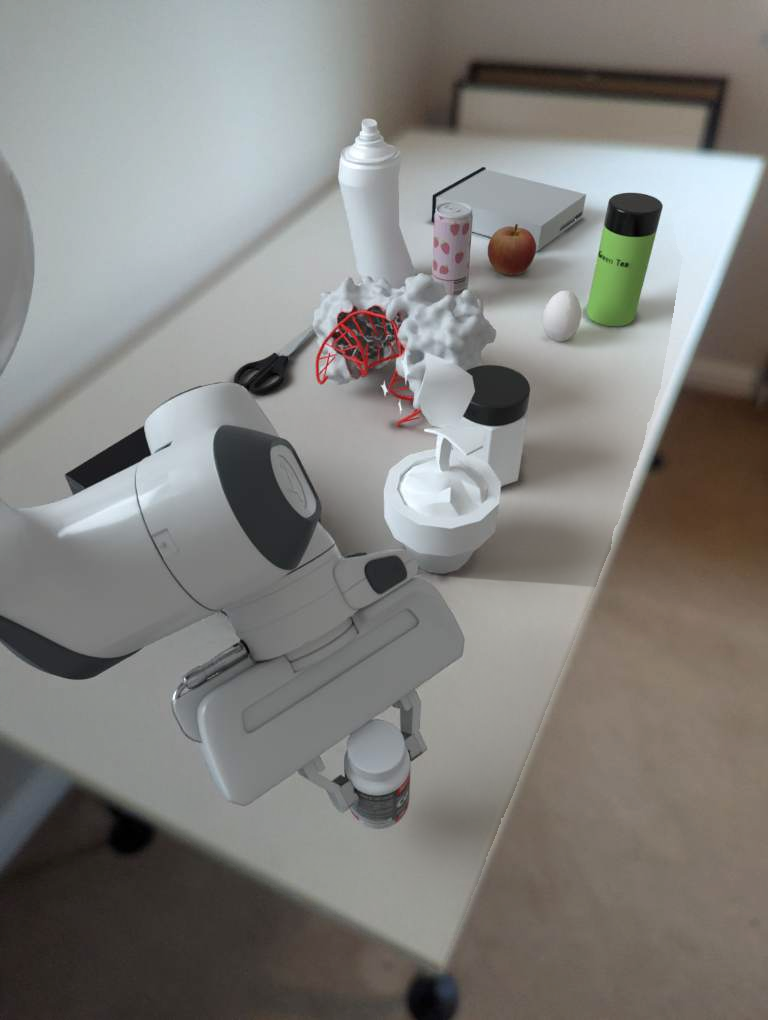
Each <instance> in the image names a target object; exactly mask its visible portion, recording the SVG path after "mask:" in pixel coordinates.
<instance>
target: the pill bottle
mask: <svg viewBox="0 0 768 1020" xmlns="http://www.w3.org/2000/svg"><path fill="white" fill-rule="evenodd" d="M411 763H412V762H411V761H410V755H409V752H408V750H407V748H406V746H405V740H404V737H403V735H402V733H401V731H400V728H398V727H397V725H395V724H394V723H392V722H390V721H388V720H385V719H380V718H373V719H371V720H370V721H369V722H367V723H366V724H364V725H363V726H361V727H360V728H359V729H357V730H356V731H354V732H353V733H351V734H350V735H348V739H347V743H346V751H345V754H344V757H343V771H344V777H345V778H348V779H349V780H351V782H352V784H353V786H354V792H355V793H357V794H358V796H359V798H360V800H359V801H358V802H357V803H355V804H354V805H353V806H352V807H350V808H349V809H348V810H349V813H350V814H351V816H352V817H353V818H354V819H355V820H356V822H358V823H359V824H361V825H362V826H364V827H366V828H369V829H375V830H384V829H389V828H392V827H393V826H394V825H396V824H397V823H399V822H400V821H401V820H402V819H403V818H404V816H405V815H406V813H407V810H408V808H409V804H410V797H411V795H410V794H411V793H410V792H411V770H412V768H411V767H412V764H411Z"/></svg>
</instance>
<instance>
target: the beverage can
mask: <svg viewBox="0 0 768 1020" xmlns="http://www.w3.org/2000/svg"><path fill="white" fill-rule="evenodd" d="M435 211H436V212H435V214H434V222H433V238H432V239H433V241H432V262H431V263H432V265H431V277H432V278H433V280H435V281H438V282H442V283H443V284H444V285H445V291H446V293H447V295H452V296H455V295H457V296H458V295H459V294H462V292H463V291H464V290H466V289H467V290H469V277H470V276H469V275H470V261H471V248H472V233H473V232H472V221H473V214H472V208H471V207H470V206H469V205H467V204H465V203H462V202H445V203H442V204H440V205H438V206H437V208H436V210H435Z"/></svg>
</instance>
